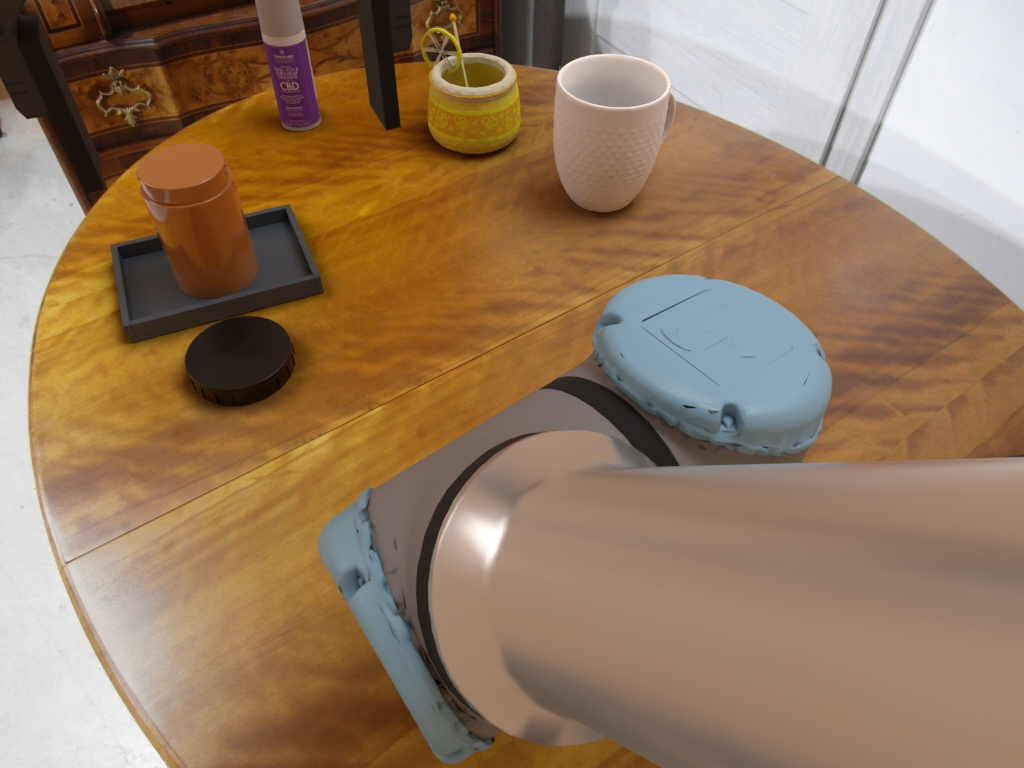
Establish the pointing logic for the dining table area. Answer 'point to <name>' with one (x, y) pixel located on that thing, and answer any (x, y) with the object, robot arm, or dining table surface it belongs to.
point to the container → (289, 63)
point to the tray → (166, 308)
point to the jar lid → (240, 360)
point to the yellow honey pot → (471, 98)
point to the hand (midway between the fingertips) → (247, 144)
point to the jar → (199, 219)
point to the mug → (609, 127)
